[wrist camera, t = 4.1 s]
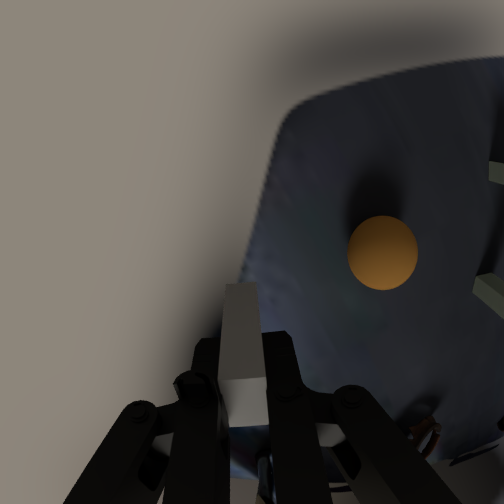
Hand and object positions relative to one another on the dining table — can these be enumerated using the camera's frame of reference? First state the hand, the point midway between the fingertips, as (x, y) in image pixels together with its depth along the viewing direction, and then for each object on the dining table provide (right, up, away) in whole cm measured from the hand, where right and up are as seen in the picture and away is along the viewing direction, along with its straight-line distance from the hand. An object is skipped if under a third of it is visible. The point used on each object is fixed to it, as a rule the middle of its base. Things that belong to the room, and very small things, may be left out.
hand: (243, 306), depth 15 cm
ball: (+10, +3, +5) cm, 12 cm away
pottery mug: (+24, -26, +20) cm, 40 cm away
